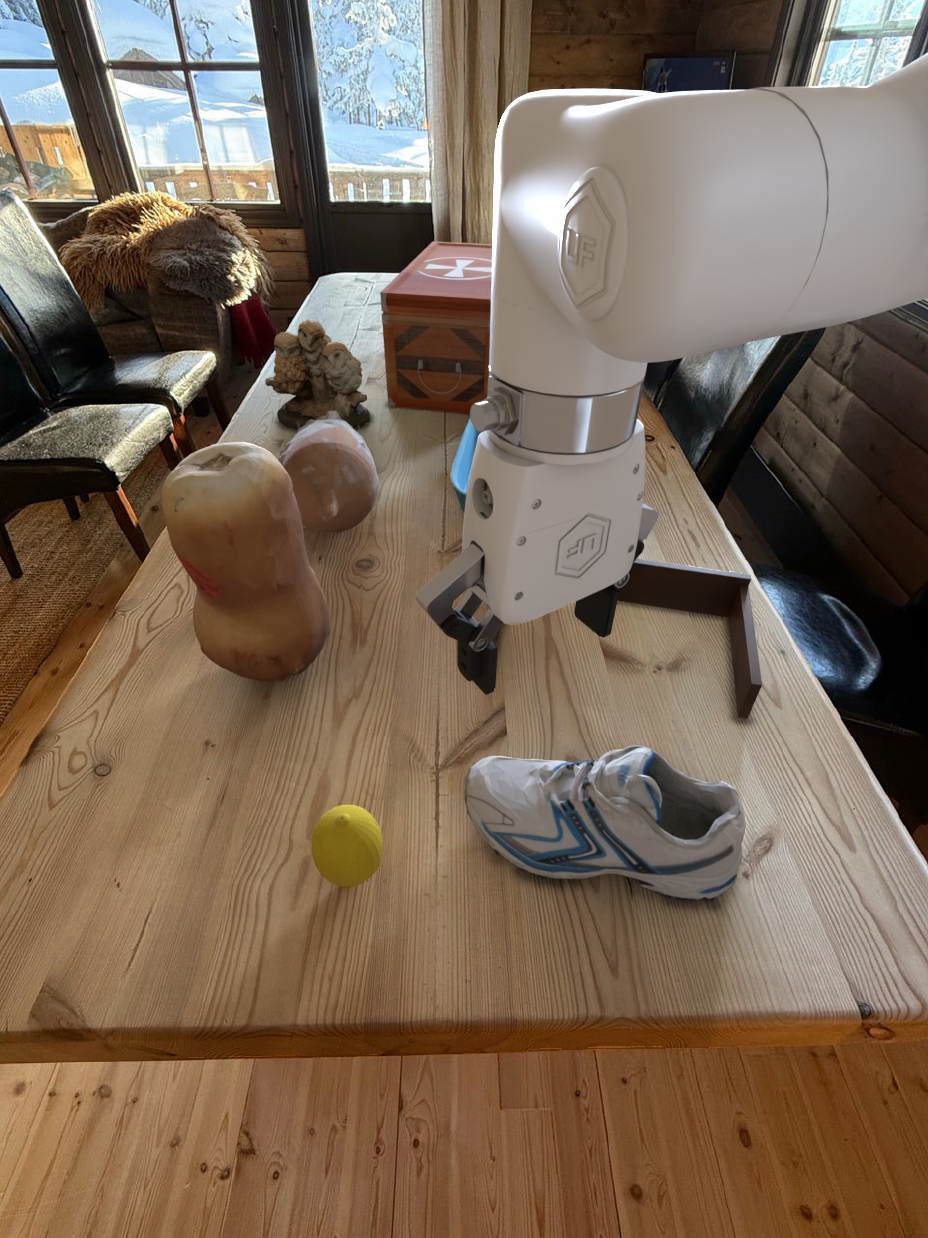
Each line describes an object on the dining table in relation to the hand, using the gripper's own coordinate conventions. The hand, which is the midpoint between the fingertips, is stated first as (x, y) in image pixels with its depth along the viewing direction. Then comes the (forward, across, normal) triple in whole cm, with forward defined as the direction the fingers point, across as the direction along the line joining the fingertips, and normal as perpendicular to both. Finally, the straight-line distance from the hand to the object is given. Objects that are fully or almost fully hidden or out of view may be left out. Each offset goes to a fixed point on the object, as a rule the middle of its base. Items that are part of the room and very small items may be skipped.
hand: (536, 651), depth 44 cm
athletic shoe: (+21, +5, -4) cm, 22 cm away
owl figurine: (+20, +20, +86) cm, 91 cm away
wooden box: (+20, +54, +92) cm, 109 cm away
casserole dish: (+21, +37, +46) cm, 62 cm away
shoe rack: (+21, +23, +13) cm, 33 cm away
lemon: (+21, -14, +4) cm, 26 cm away
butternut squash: (+21, -10, +31) cm, 38 cm away
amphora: (+20, +9, +57) cm, 61 cm away
